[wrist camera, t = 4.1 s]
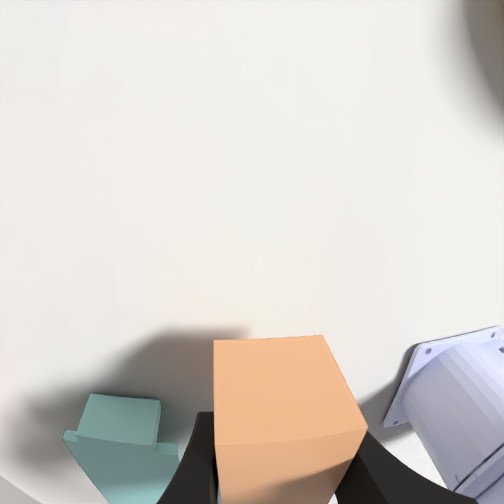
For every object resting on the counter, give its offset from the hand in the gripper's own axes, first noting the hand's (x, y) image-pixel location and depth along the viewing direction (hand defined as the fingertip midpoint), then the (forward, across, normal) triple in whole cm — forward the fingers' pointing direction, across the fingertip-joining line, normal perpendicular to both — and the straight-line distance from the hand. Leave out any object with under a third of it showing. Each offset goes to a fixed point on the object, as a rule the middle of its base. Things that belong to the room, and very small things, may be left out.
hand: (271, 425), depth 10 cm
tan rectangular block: (+2, 0, 0) cm, 2 cm away
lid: (+5, +8, +10) cm, 14 cm away
